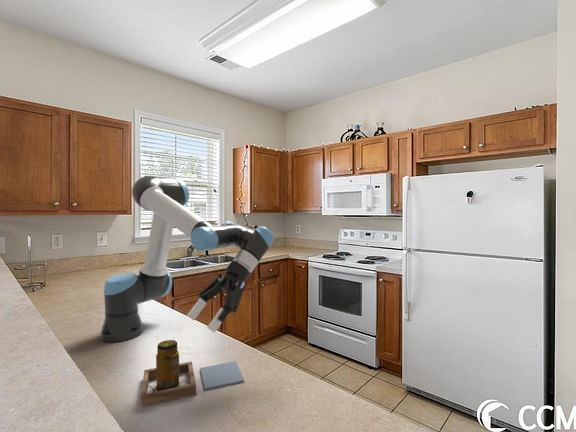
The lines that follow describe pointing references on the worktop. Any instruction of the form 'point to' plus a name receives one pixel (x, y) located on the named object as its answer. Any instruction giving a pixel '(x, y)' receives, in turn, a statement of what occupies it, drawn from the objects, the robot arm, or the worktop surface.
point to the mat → (221, 375)
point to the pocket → (168, 393)
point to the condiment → (167, 366)
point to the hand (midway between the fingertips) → (199, 323)
